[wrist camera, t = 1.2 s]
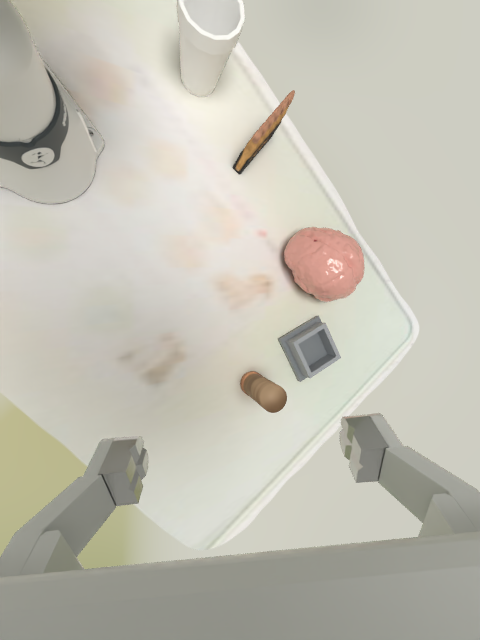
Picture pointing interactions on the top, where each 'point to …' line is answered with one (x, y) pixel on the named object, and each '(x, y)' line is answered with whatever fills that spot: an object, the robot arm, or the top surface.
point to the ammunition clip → (262, 135)
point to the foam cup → (207, 40)
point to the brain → (325, 262)
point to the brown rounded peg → (264, 391)
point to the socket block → (309, 348)
